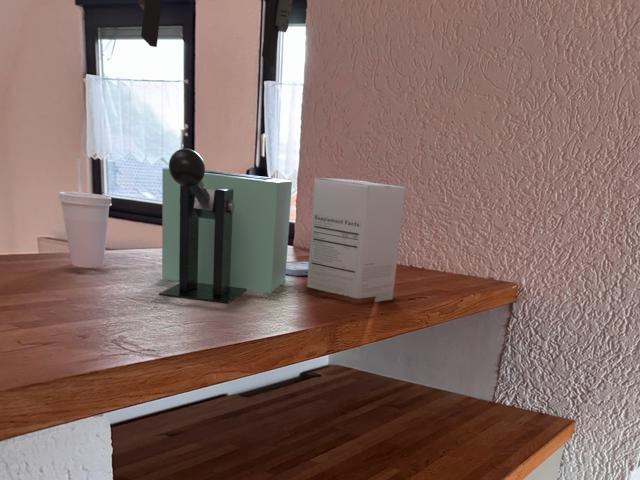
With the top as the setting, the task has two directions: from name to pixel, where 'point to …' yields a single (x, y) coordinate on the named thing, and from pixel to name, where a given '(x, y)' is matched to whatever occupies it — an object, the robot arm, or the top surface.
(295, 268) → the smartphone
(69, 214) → the smoothie
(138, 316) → the top surface
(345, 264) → the rectangular carton
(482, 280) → the top surface
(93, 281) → the top surface
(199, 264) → the grey-green box
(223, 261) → the lever bracket
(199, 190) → the lever
